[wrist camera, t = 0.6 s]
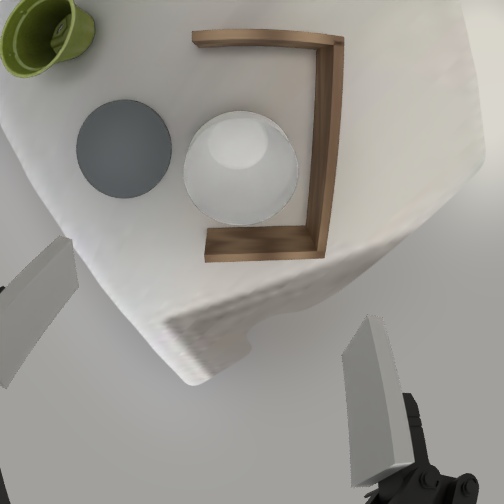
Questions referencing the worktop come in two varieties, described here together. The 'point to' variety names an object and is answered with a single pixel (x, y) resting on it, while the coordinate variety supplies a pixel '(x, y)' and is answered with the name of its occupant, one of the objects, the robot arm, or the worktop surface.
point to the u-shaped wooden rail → (323, 153)
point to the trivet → (123, 149)
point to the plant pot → (44, 35)
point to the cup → (240, 168)
